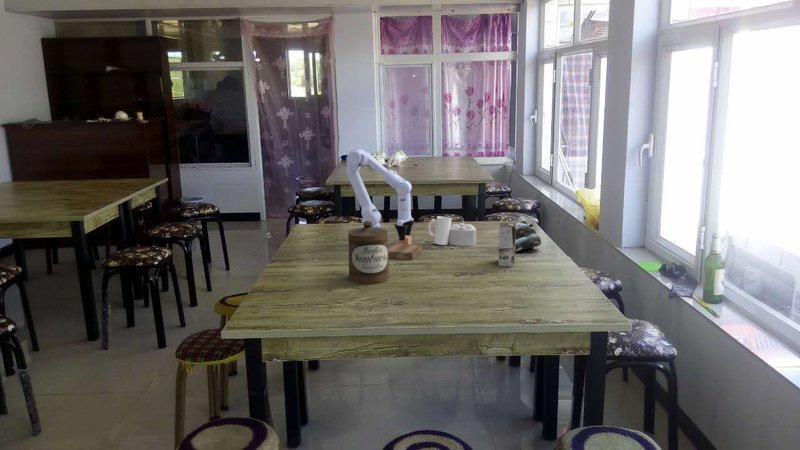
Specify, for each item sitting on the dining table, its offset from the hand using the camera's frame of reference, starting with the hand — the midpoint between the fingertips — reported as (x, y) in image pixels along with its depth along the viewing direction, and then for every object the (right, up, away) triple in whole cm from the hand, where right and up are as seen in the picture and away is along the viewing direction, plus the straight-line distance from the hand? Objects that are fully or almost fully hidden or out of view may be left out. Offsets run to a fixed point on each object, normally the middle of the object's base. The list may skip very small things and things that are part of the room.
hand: (404, 238), depth 287 cm
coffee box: (+41, -10, -27) cm, 50 cm away
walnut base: (-1, -7, -12) cm, 14 cm away
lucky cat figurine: (+51, -5, -5) cm, 52 cm away
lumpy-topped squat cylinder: (+26, -3, +7) cm, 27 cm away
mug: (+15, -2, +6) cm, 16 cm away
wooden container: (-14, -14, -46) cm, 50 cm away
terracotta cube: (0, -4, +1) cm, 4 cm away
